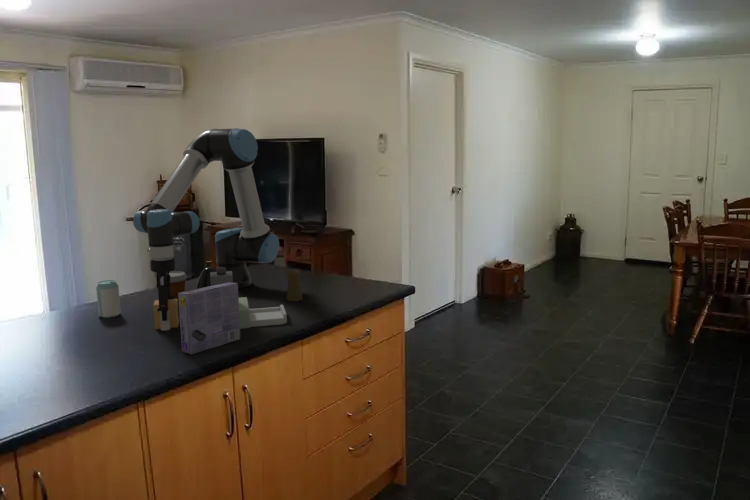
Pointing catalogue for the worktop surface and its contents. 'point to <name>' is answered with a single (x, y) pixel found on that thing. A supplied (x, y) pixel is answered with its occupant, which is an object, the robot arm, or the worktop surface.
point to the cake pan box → (209, 317)
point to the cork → (294, 286)
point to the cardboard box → (172, 313)
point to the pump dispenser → (205, 278)
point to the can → (108, 299)
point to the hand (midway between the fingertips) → (166, 324)
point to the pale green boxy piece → (245, 314)
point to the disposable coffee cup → (177, 284)
